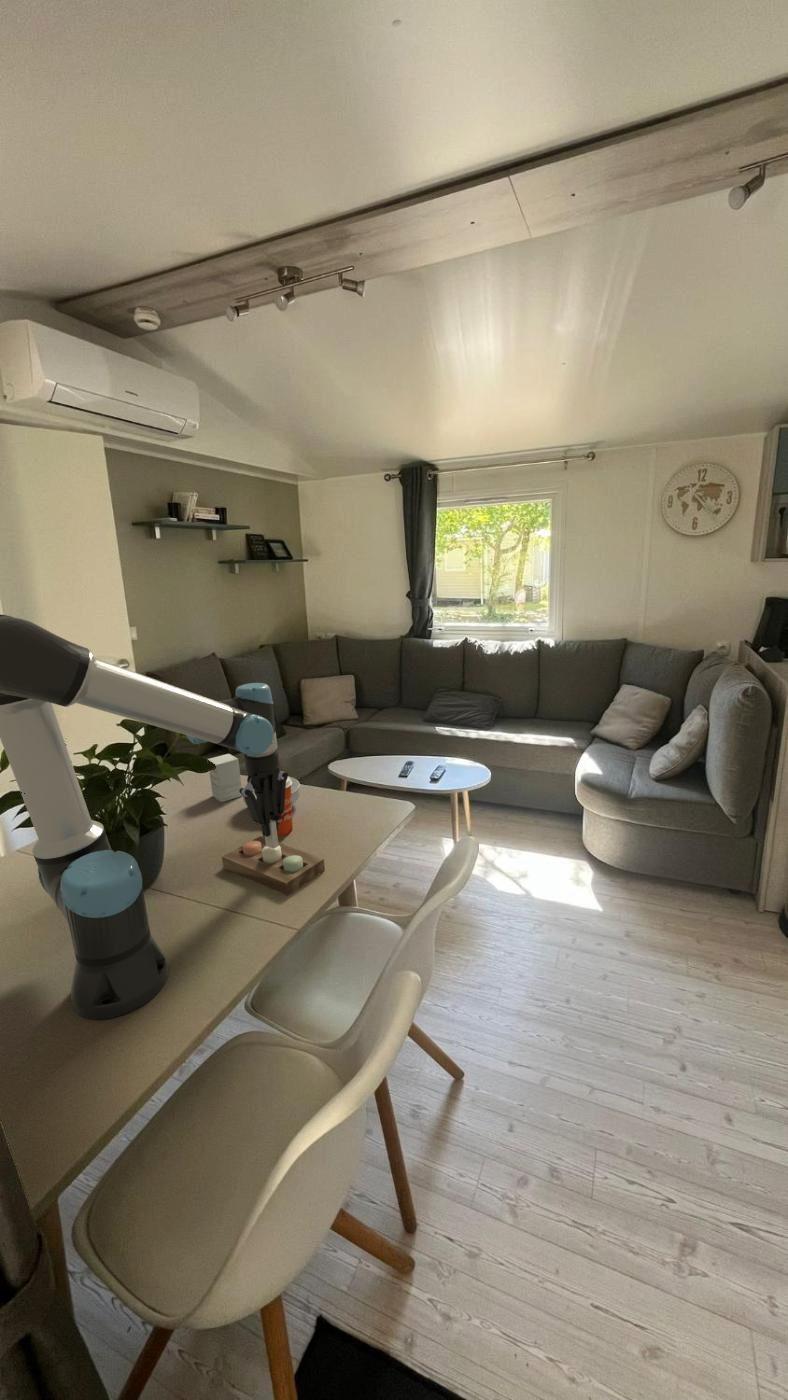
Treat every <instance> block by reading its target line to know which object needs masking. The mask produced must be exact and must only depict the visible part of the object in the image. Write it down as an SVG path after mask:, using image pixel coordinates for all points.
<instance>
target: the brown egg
mask: <svg viewBox="0 0 788 1400" xmlns="http://www.w3.org/2000/svg"><path fill="white" fill-rule="evenodd" d="M242 846H243V854H244V855H246V856H249V857H253V856H255V855H257V854H258V853H260V852H262V847H261V842H259V841H252V840H250V841H247V842H245V843H243V844H242Z"/></svg>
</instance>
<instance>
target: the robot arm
mask: <svg viewBox="0 0 788 1400" xmlns="http://www.w3.org/2000/svg"><path fill="white" fill-rule="evenodd" d="M53 704H54V705H57V706H61V707H65V708H66V707H70V706H73V705H75V704H77V705H78V704H79V705H82V706H85V707H89V708H92V709H96V710H99V711H103V712H106V713H108V714H112V715H116V716H119V717H122V718H123V717H124V718H126V719H130V720H134V721H136V722H140V723H144V724H147V725H151V726H154V727H157V728H162V729H163V730H164V729H165V730H168V731H171V732H173V733H174V732H175V733H179V734H182V735H185V736H186V738H187V739H188V741H190V742H191V743H192V744H195V745H198V744H203V743H209V742H210V743H211V744H212V743H213V744H217V745H219V746H222V747H225V748H228V749H232V750H235V751H238V752H240V753H242V754H243V755H244V757H243V759H244V765H245V766H244V767H245V771H246V772H247V779H246V780H247V781H246V782H247V784H245V786H244V787H245V788H244V787H242V788H241V789H240V790H239V792H240V793H241V794H242V796H241V797H242V798H243V797H244V798H245V801H246V804H247V805H246V804H245V805H246V807H247V808H248V812H249V815H250V817H251V820H252V822H253V823H254V824H255V823H256V824H257V825H260V826H261V834H262V835H263V836H264V838H265V842H266V846H267V847H270V848H273V849H274V848H276V847H278V843H279V840H278V837H279V836H277V831H278V820H280V818H281V817H280V816H279V815H280V814H283V812H284V802H285V788H286V781H287V778H288V776H289V773H288V772H286V771H282V770H280V768H279V765H280V756H279V751H278V740H277V733H276V732H277V731H276V722H275V712H274V701H273V697H272V691H271V687H270V686H269V685H268V684H267V683H264V682H251V683H245V684H242V685H239V686H237V687H236V689H235V697H231V698H230V699H229V698H228V699H224V700H219V701H217V700H214V699H212V698H209V697H205V696H203V695H200V694H198V693H195V692H192V691H188V690H186V689H183V688H180V687H177V686H175V685H172V684H169V683H167V682H163V681H161V680H158V679H155V678H152V677H150V676H147V675H144V674H140V673H138V672H135V671H132V670H130V669H127V668H124V667H122V666H119V665H116V664H112V663H110V662H107V661H105V660H102V659H98V658H96V657H94V655H93V651H92V650H91V649H89V648H88V647H84V646H81V645H79V644H76V643H75V642H72V641H69V640H67V639H65V638H63V637H61V636H59V635H56V634H55V633H52V632H51V631H49V630H47V629H46V628H43V627H41V626H40V625H38V624H36V623H33V622H31V621H29V620H27V619H23V618H19V617H14V616H11V615H7V614H2V613H1V614H0V741H1V744H2V746H3V750H4V752H5V755H6V757H7V760H8V763H9V765H10V768H11V771H12V773H13V776H14V778H15V781H16V784H17V786H18V789H19V791H20V794H21V797H22V800H23V802H24V805H25V808H26V809H27V812H28V815H29V817H30V820H31V824H32V825H33V828H34V831H35V833H36V835H37V838H38V839H37V840H36V843H35V844H34V845H33V848H32V850H31V852H32V855H33V858H34V861H35V862H36V866H37V873H38V879H39V880H38V881H39V883H40V885H41V886H42V888H43V890H44V891H45V892H46V894H48V895H49V896H50V898H51V900H52V901H53V902H54V904H55V905H56V906H57V907H56V908H58V910H59V911H60V912H61V914H62V916H63V917H64V919H65V921H66V922H67V925H68V928H69V933H70V937H71V943H72V946H73V951H74V957H75V966H74V970H73V975H72V977H73V978H72V984H71V987H70V988H71V989H70V998H71V1002H72V1007H73V1009H74V1011H75V1013H77V1014H78V1015H79V1016H80V1017H82V1018H86V1019H91V1020H106V1019H113V1018H116V1017H117V1018H118V1017H120V1016H123V1015H126V1014H129V1013H130V1012H131V1013H132V1012H133V1011H135V1010H137V1009H138V1008H140V1007H142V1006H143V1005H145V1004H146V1003H149V1002H150V1000H152V999H153V998H154V997H156V995H157V994H158V993H159V992H160V991H161V990H162V989H163V987H164V985H165V984H166V982H167V980H168V976H169V969H168V964H167V959H166V956H165V954H164V953H163V951H162V949H161V948H160V947H159V945H158V944H157V942H156V941H155V939H154V937H153V936H152V934H151V929H150V923H149V916H148V912H147V905H146V899H145V894H144V888H143V876H142V872H141V870H140V867H139V865H138V862H137V860H136V858H134V856H132V855H130V854H129V853H127V852H125V851H122V850H116V851H114V850H112V847H111V845H110V842H109V839H108V835H107V834H106V830H105V827H104V825H103V824H102V823H101V822H99V821H96V820H94V819H92V818H91V816H90V812H89V810H88V807H87V803H86V800H85V798H84V795H83V792H82V789H81V786H80V783H79V780H78V777H77V774H76V771H75V768H74V766H73V762H72V760H71V757H70V754H69V751H68V748H67V745H66V742H65V739H64V736H63V733H62V730H61V727H60V725H59V721H58V718H57V715H56V713H55V710H54V707H53ZM252 788H253V789H254V791H253V789H252ZM21 792H22V793H21ZM24 793H25V794H24ZM253 793H255V795H256V797H255V795H254V794H253ZM256 798H257V800H256ZM278 807H279V808H278Z"/></svg>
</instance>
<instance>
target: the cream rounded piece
mask: <svg viewBox="0 0 788 1400" xmlns="http://www.w3.org/2000/svg"><path fill="white" fill-rule="evenodd" d="M262 856H263V862H264V863H267V864H269V865H273V864H275V863H277V862H278V861H280V860H282V854H281V847H280V846H279V845H278V847H276V848H274V849H273V848H270V847H267V846H265V847H264V848H263V849H262Z"/></svg>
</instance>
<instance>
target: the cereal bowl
mask: <svg viewBox="0 0 788 1400" xmlns="http://www.w3.org/2000/svg"><path fill="white" fill-rule="evenodd" d="M289 778H290V780H291V781H292V785H291V794H292V806H294V805H295V804H296V803H297V801H298V800H299V798H300V796H301V795H300V794H301V784H300V781H298V780H297V779H296V778H295V777H291V776H289ZM243 788H245V786H244V787H243ZM252 789H253V788H252ZM253 791H254V789H253ZM253 794H254V795H255V793H253ZM255 797H256V795H255ZM242 799H243V803H244V804H245V806H247V804H246V801H245V798H244V797H243V796H242ZM256 800H257V798H256Z"/></svg>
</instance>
